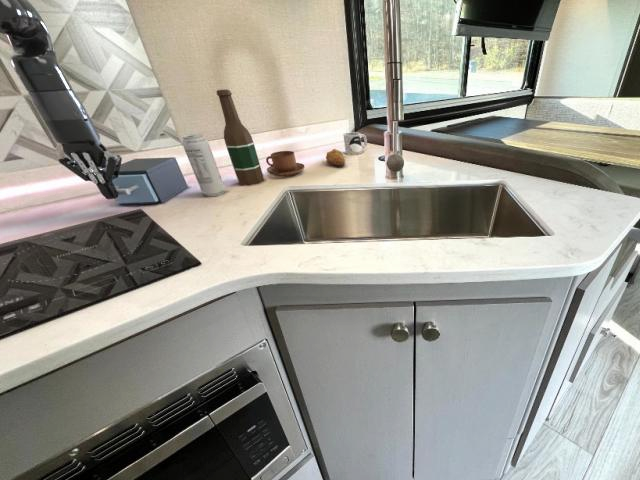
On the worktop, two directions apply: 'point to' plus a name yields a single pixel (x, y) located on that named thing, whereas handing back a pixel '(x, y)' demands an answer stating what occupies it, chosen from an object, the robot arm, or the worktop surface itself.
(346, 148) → the mug
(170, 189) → the blue drawer box
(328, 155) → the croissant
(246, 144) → the beer bottle
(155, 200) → the light blue drawer
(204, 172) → the energy drink can
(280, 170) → the cup and saucer
